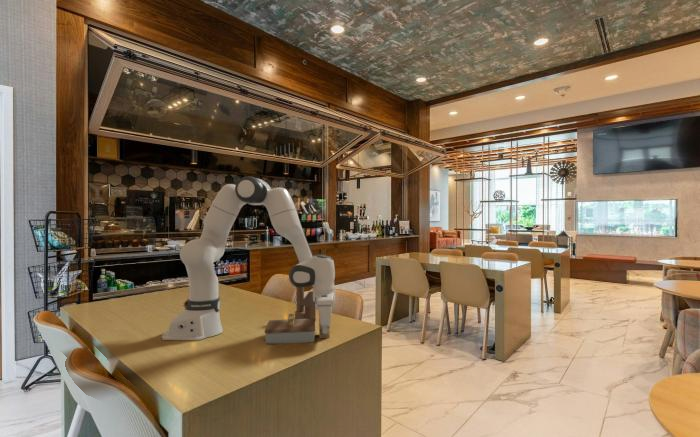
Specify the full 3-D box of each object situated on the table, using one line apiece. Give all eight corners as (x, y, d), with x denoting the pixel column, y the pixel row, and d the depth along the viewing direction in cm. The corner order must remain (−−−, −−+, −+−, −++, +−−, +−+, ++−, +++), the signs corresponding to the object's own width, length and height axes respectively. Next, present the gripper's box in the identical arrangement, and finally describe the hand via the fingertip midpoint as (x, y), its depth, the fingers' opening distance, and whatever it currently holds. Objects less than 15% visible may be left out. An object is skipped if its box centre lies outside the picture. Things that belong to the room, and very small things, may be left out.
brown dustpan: (309, 323, 153) (309, 283, 153) (294, 319, 160) (294, 280, 160) (316, 321, 156) (315, 282, 156) (300, 317, 163) (300, 279, 163)
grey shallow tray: (265, 344, 127) (265, 333, 127) (269, 333, 139) (269, 323, 139) (314, 341, 129) (314, 331, 130) (314, 331, 141) (314, 322, 141)
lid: (264, 333, 127) (264, 321, 127) (269, 323, 140) (268, 312, 140) (315, 331, 129) (315, 319, 129) (314, 321, 142) (314, 311, 142)
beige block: (319, 338, 134) (319, 321, 134) (319, 334, 138) (319, 318, 138) (329, 337, 134) (329, 320, 134) (329, 334, 138) (329, 318, 138)
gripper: (315, 290, 146) (316, 323, 146) (316, 302, 126) (316, 339, 126) (330, 290, 147) (330, 322, 147) (333, 301, 126) (333, 339, 126)
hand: (324, 330), depth 136 cm, fingers closed on beige block, 4 cm apart
